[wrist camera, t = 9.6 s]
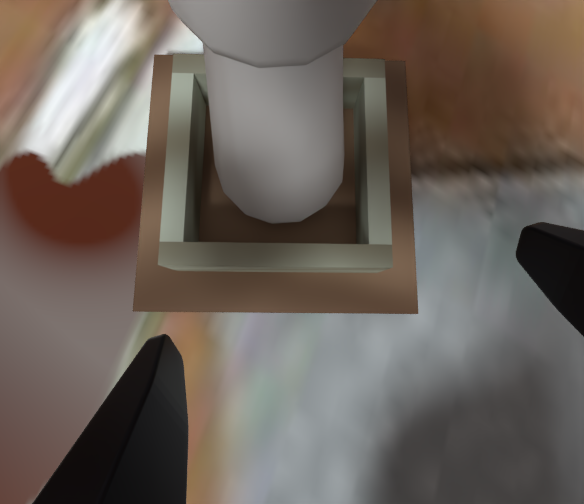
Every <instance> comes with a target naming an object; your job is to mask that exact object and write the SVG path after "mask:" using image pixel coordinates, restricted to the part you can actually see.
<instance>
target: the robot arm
mask: <svg viewBox="0 0 584 504" xmlns="http://www.w3.org/2000/svg"><path fill="white" fill-rule="evenodd" d="M516 258H517V260H518V262H519V263H520V265H521V266H522V267H523V268H524V270H525V271H526V272H527V273H528V274H529V276H530V277H531V278H532V279H533V281H534V282H535V283H536V284H537V286H538V287H539V288H540V289H541V290H542V292H543V293H544V294H545V295H546V297H547V298H548V299H549V300H550V302H551V303H552V304H553V305H554V306H555V307H556V309H557V310H558V311H559V312H560V313H561V314H562V315H563V316H564V317H565V318H566V319H567V320H568V321H569V322H570V323H571V324H572V325H573V326H574V327H575V328H576V329H577V330H578V331H579V332H580V333H581V334H582V335H583V336H584V231H583V230H578V229H573V228H568V227H564V226H559V225H554V224H549V223H544V222H540V223H535V224H532V225H529V226H526V227H524V228H523V230H522V231H521V235H520V238H519V242H518V246H517V249H516ZM187 460H188V414H187V402H186V389H185V377H184V365H183V359H182V356H181V354H180V353H179V351H178V349H177V348H176V346H175V345H174V343H173V342H172V340H171V338H170V337H169V336H168V335H166V334H162V335H159V336H155V337H152V338H150V339H148V340H147V341H146V342H145V344H144V345H143V347H142V348H141V350H140V351H139V352H138V354H137V355H136V357H135V358H134V359H133V361H132V362H131V364H130V365H129V367H128V368H127V369H126V371H125V372H124V374H123V375H122V377H121V378H120V379H119V381H118V382H117V384H116V385H115V387H114V388H113V389H112V391H111V392H110V394H109V395H108V397H107V398H106V399H105V401H104V402H103V404H102V405H101V406H100V408H99V409H98V411H97V412H96V414H95V415H94V417H93V418H92V419H91V421H90V422H89V424H88V425H87V426H86V428H85V429H84V431H83V432H82V434H81V435H80V436H79V438H78V439H77V441H76V442H75V444H74V445H73V447H72V448H71V449H70V451H69V452H68V454H67V455H66V456H65V458H64V459H63V461H62V462H61V463H60V465H59V466H58V468H57V469H56V471H55V472H54V473H53V475H52V476H51V478H50V479H49V481H48V482H47V483H46V485H45V486H44V488H43V489H42V491H41V492H40V493H39V495H38V496H37V498H36V499H35V501H34V502H33V503H32V504H186V490H187Z"/></svg>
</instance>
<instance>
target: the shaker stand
mask: <svg viewBox="0 0 584 504" xmlns="http://www.w3.org/2000/svg"><path fill="white" fill-rule="evenodd" d="M343 121H344V167H343V180H342V183H341V184H340V186H339V187H338V189H337V190H336V192H335V193H334V195H333V196H332V198H331V199H330V201H329V202H328V203H327V205H326V206H325V207H323V208H322V209H320V210H318V211H317V212H315V213H314V214H312V215H310V216H309V217H307V218H305V219H304V220H302V221H301V222H290V223H278V224H271V223H268V222H265V221H262V220H259V219H257V218H254V217H251V216H248V215H246V214H244V213H243V212H242V211H241V210H240V209H239V208H238V206H237V205H236V204H235V203H234V202H233V201H232V200H231V199H230V198H229V197H228V196H227V195H226V194H225V193H224V192H223V189H222V186H221V183H220V180H219V176H218V173H217V170H216V167H215V160H214V150H213V140H212V130H211V120H210V110H209V100H208V90H207V79H206V69H205V59H204V54H173V55H154V66H153V78H152V90H151V102H150V113H149V125H148V137H147V149H146V162H145V173H144V185H143V196H142V208H141V220H140V232H139V244H138V255H137V268H136V279H135V291H134V303H133V311H145V312H264V313H383V314H418V300H417V281H416V261H415V242H414V222H413V203H412V184H411V164H410V145H409V125H408V106H407V87H406V67H405V61H385V59H361V58H343Z"/></svg>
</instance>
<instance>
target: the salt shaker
mask: <svg viewBox="0 0 584 504" xmlns="http://www.w3.org/2000/svg"><path fill="white" fill-rule="evenodd" d="M168 1H169V4H170V6H171V8H172V10H173V11H174V13H175V14H176V15H177V16H178V17H179V19H180V20H181V21H182V22H183V23H184V24H185V25H186V26H187V27H188V28H189V29H190V30H191V31H192V32H193V33H194V34H195V35H196V36H197V37H198V38H199V39H200V40H201V41H202V42H203V49H204V59H205V69H206V79H207V90H208V100H209V110H210V120H211V130H212V140H213V150H214V160H215V167H216V170H217V173H218V176H219V180H220V183H221V186H222V189H223V192H224V193H225V194H226V195H227V196H228V197H229V198H230V199H231V200H232V201H233V202H234V203H235V204H236V205H237V206H238V208H239V209H240V210H241V211H242V212H243V213H244V214H246V215H248V216H251V217H254V218H257V219H259V220H262V221H265V222H268V223H271V224H278V223H290V222H301V221H302V220H304V219H305V218H307V217H309V216H310V215H312V214H314V213H315V212H317V211H318V210H320V209H322V208H323V207H325V206H326V205H327V203H328V202H329V201H330V199H331V198H332V196H333V195H334V193H335V192H336V190H337V189H338V187H339V186H340V184H341V183H342V180H343V167H344V121H343V45H344V44H345V43H346V42H347V41H348V39H349V38H350V37H351V35H352V34H353V33H354V31H355V30H356V29H357V27H358V26H359V25H360V23H361V22H362V20H363V19H364V18H365V16H366V15H367V14H368V12H369V11H370V9H371V8H372V7H373V5H374V4H375V3H376V1H377V0H168Z"/></svg>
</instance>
